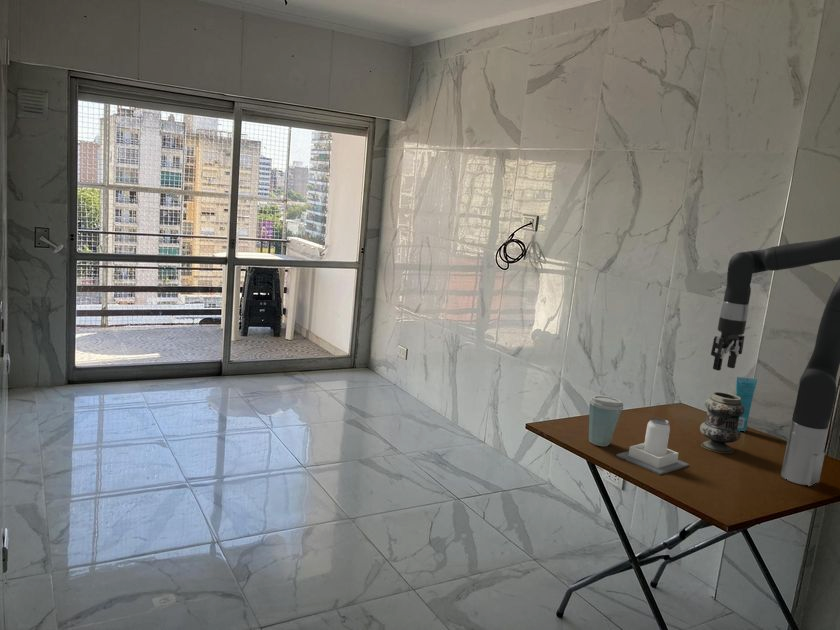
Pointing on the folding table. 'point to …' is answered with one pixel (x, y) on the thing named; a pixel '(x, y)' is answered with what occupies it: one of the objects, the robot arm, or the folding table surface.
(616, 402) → the disposable coffee cup
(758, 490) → the folding table surface
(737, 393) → the tube
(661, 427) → the can
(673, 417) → the folding table surface
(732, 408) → the apothecary jar
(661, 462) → the board
